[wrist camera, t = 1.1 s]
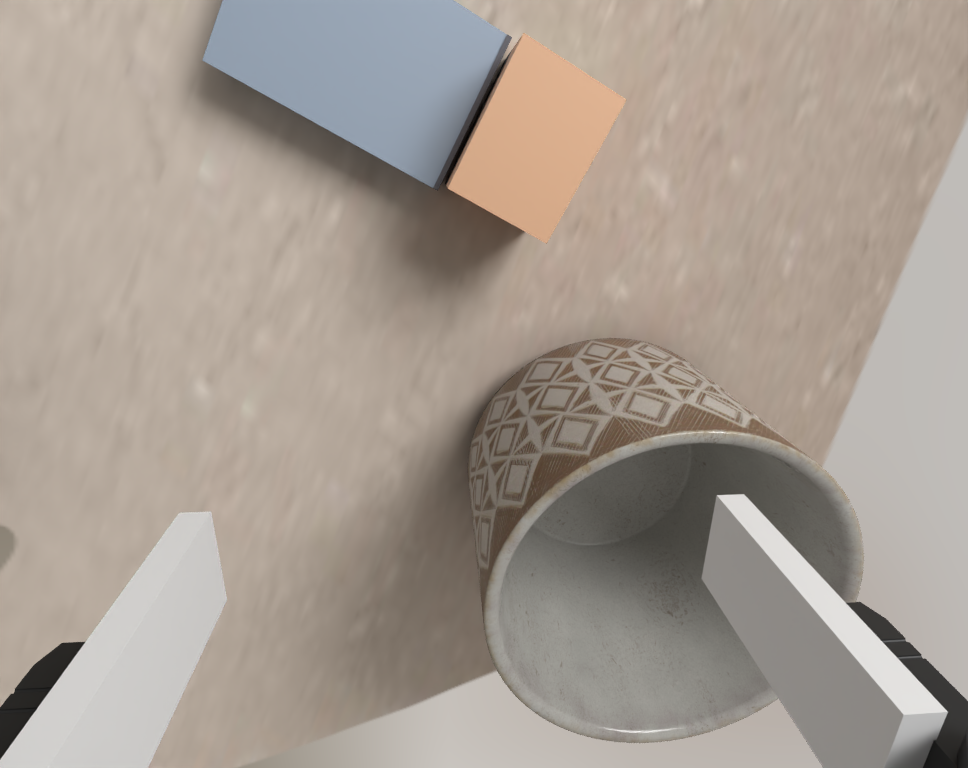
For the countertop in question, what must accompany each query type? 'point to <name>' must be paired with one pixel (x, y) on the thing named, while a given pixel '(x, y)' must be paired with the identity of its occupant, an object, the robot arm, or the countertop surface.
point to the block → (534, 139)
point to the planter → (632, 538)
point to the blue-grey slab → (367, 70)
